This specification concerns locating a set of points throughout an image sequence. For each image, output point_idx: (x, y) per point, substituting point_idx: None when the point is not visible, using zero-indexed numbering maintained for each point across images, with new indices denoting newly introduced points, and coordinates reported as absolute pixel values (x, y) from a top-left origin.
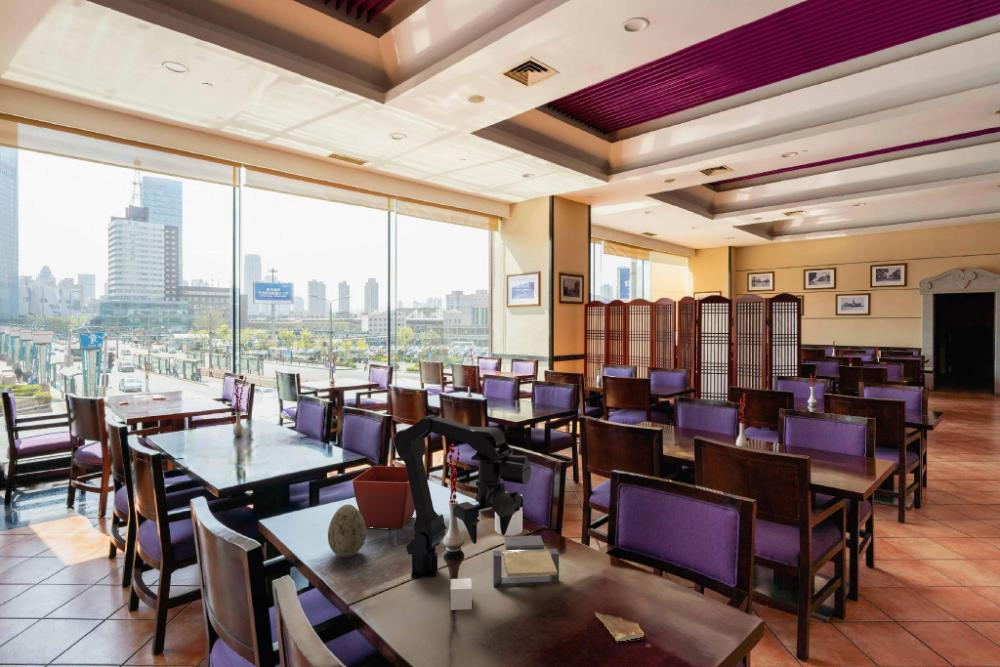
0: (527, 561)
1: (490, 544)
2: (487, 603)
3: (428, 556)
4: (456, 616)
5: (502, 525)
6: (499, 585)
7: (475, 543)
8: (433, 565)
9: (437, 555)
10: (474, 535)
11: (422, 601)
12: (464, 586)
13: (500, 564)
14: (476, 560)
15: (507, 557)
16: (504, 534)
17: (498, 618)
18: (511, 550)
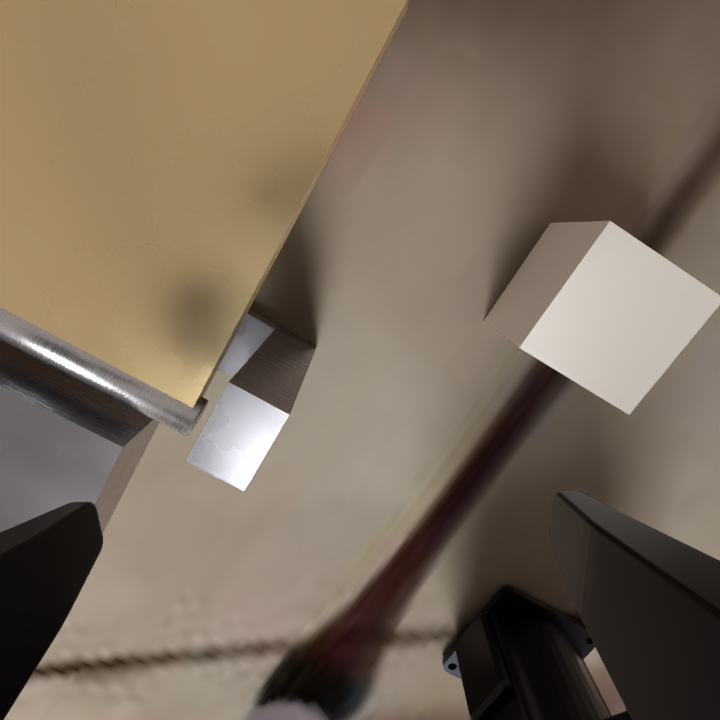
0: (79, 104)
1: (96, 696)
2: (447, 220)
3: (564, 700)
4: (658, 208)
5: (9, 632)
6: (288, 332)
7: (564, 492)
8: (510, 643)
9: (490, 693)
10: (688, 556)
11: (689, 431)
12: (626, 278)
13: (256, 363)
14: (243, 608)
15: (213, 300)
16: (81, 502)
17: (496, 37)
18: (110, 384)
